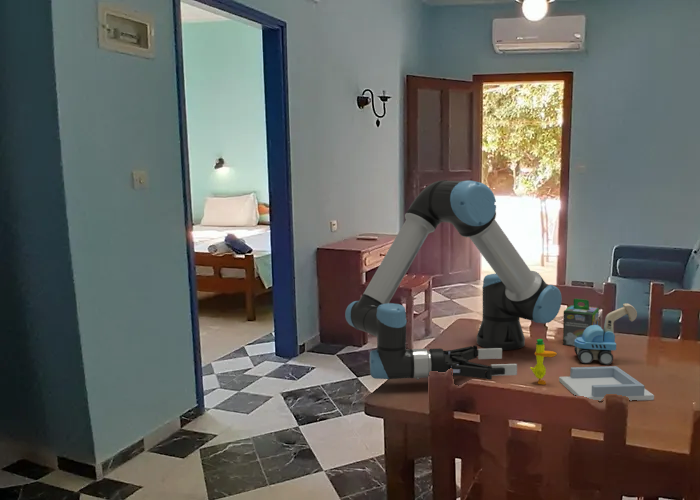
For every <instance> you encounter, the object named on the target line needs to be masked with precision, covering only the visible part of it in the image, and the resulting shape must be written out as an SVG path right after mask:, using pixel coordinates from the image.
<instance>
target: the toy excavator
mask: <svg viewBox="0 0 700 500" xmlns="http://www.w3.org/2000/svg"><path fill="white" fill-rule="evenodd" d="M622 306H623V307H622ZM622 306H621V307H620V308H618V309H615V310H613V311H611V312H609V313H607V314H606V315H605V319H604V324H603V325H604V326H603V327H601V325H591V326H589V327H587V328H586V329H585V330H584V332H583V335H582V337H578V338H577V339H575V340H574V345H575V346H574V353H575V355H576V356H577V358H578V360H579V362H581V363H582V364H584V365H585V364H591V363H592V362H593V361H598V362H599V363H600V364H601V365H604V366H609V365H610V364H612V362H614V355H613V353H612V351H617V343H616V340H615V339H616V335H615V332H614V327H615V326H614V324H615V321H617V320H619V319H620V318H622V317H624V316H626V315H627V316H628V320H629V322H634V321H635V320H636V319H637V317H638V312H637V309H636V308H635V307H634V306H633V305H631V304H630V303H622Z"/></svg>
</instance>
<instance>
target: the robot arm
mask: <svg viewBox="0 0 700 500" xmlns="http://www.w3.org/2000/svg"><path fill="white" fill-rule="evenodd" d="M494 194H495V193H493V190H492V189H491V188H490V187H489V186H488V185H487V184H484V183H482V182H480V181H479V182H478V181H475V180H470V179H469V180H443V179H442V180H437V181H434V182H432V183H430V184H428V185H427V186H426V187H424V188H423V189H422V190H421V192H420V193H419V194H418V195H417V196H416V197H415V199H414V200H413V201H412V202H411V204H410V206H409V207H408V209H407V211H406V212H405V214H404V219H405V221H404V222H403V225H402V226H401V227H400V229H399V231H398V233H397V235H396V236H395V238H394V239H393V242H392V243H391V245H390V247H389V248H388V250H387V252H386V254H385V256H384V257H383V259H382V261H381V262H380V264H379V266H378V267H377V269H376V271H375V273H374V275H373V276H372V278H371V279H370V282H369V283H368V285H367V287H366V288H365V291H364V292H363V293H362V296H361V297H360V299H359V300H355V301H352V302H351V303H349V304H348V305H347V307H346V309H345V314H344V315H345V316H344V317H345V320H346V322H347V324H348V325H349V326H350V327H353V328H354V329H356V330H358V331H362V332H365V333H367V334H369V335H372V336H374V337H376V342H377V343H376V346H377V347H376V349H372V350H370V352H369V373H370V376H371V377H372V378H373V379H377V380H379V379H380V380H398V379H399V380H400V379H416V381H417V380H418V381H419V380H420V379H423V378H428V377H429V376H430V375H429V372H430V371H438V372H445V373H447V370H448V369H450V368H452V369H453V375H452V376H454V377H456V376H457V377H458V376H459V377H461V376H462V377H469V378H476V379H482V380H484V379H485V380H490V381H492V378H493V376H495V377H496V376H497V377H499V376H501V377H502V376H503V377H504V376H517V375H518V363H506V364H504V363H501V364H500V363H498V364H497V363H495V364H490V365H487V364H483V363H482V364H481V363H477V362H471V360H474V359H478V360H491V359H495V360H497V359H498V360H500V359H501V360H502V359H503V351H510V350H518V349H521V348H523V347H524V346H526V345H525V343H526V342H525V341H526V338H525V337H526V336H525V334H524V332H523V331H524V330H523V328H522V325H521V322H520V319H523V320H527V321H531V322H534V323H535V324H549V323H550V322H552V321H553V320H555V318H556V317H557V315H558V314H559V312H560V310H561V306H562V303H563V302H562V301H563V299H562V293H561V290H560V289H559V288H558V287H557V286H555V285H553V284H548V283H547V282H546V281H545V280H544V278H543V277H542V275H540V273H539V272H537V271H534V270H531V269H530V267H528V265H527V263H526V262H525V260H524V259H523V258H522V256H521V255H520V253H519V252H518V250H517V249H516V248H515V247H514V244H513V243H512V242H511V241H510V239H509V238H508V236H507V235H506V233H505V232H504V230H503V229H502V228H501V226H500V224H499V223H498V222H497V221H496V218H497V211H496V210H497V205H496V204H495V203H496V196H495V195H494ZM441 223H449V224H451V225H453V227H454V229H455V230H456V231H457V232H458V234H459V235H460V236H461V237H462V238H463V237H464V238H469V239H470V241H471V242H472V244H473V245H474V246H475V247H476V249H477V250H478V251H479V253H480V254H481V255H482V257H483V259H484V260H485V261H486V262H487V263H488V265H489V266H490V268H491V269H492V270H493V272H494V273H491V274H490V273H489V274H487V275H485V276H484V277H483V281H482V282H483V283H482V320H481V323H480V326H479V329H478V332H477V334H476V344H477V345H473V346H472V345H471V346H466V347H460V348H455V349H449V350H444V349H443V348H429V349H427V348H410V349H409V348H407V321H408V320H407V315H406V314H407V313H406V308H405V306H404V305H402V304H399V303H392V302H390V301H391V300H392V298H393V297H394V295H395V294H396V291H397V290H398V288H399V286H400V285H401V283H402V281H403V279H404V278H405V275H406V274H407V272H408V270H409V269H410V267H411V266H412V263H413V262H414V260H415V258H416V256H417V255H418V253H419V251H420V250H421V248H422V246H423V244H424V243H425V241H426V239H427V237H428V235H429V234H430V233H434V232H435V230H436V228H437V227H438V226H439V225H440V224H441ZM478 345H479V347H482V348H478ZM428 375H429V376H428Z"/></svg>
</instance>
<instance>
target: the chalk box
mask: <svg viewBox="0 0 700 500" xmlns="http://www.w3.org/2000/svg"><path fill="white" fill-rule="evenodd" d="M579 303H583V304H584V305H579ZM599 312H600V309H599V307H597V306H590V302H589V300H588V299H585V298H584V299H583V298H574V299H573V305H570V306H568V307H566V308H565V310H563V315H562V316H563V324H562V325H563V326H562V327H563V328H562V329H563V331H562V335H563V336H562V338H563V339H562V340H563V341H562V344H563V345H564V346H565V345H566V346H573V347H575V345H574V340H575V339H577V338H578V337H582V335H583V332H584V330H585V329H586V328H587V327H589V326H591V325H599V322H600V321H599V319H600V318H599V317H600V314H599ZM599 326H600V325H599Z"/></svg>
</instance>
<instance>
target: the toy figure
mask: <svg viewBox="0 0 700 500" xmlns="http://www.w3.org/2000/svg"><path fill="white" fill-rule="evenodd" d="M535 346H536V347H535V348H536V349H535V352H534V356H536V357H535V359H536V364H535V365H534V367H531V366H530V367H529V368H530V370H531V371H532V373H533V375H534V377H535V378H536V379H538V381H537V385H543V386H544V385H547V382H546V380H543V378H544V376H545V375H546V374H547V373H546V372H547V370H546V369H547V368H546V366H545V365H544V360H545V359H544V358H554V357H555V356H557V355H558V354H557V352H555V351H553V350H552V351H551V350H545V348H546V347H545V342H544V339H543V338H538V339H536V343H535Z"/></svg>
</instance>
